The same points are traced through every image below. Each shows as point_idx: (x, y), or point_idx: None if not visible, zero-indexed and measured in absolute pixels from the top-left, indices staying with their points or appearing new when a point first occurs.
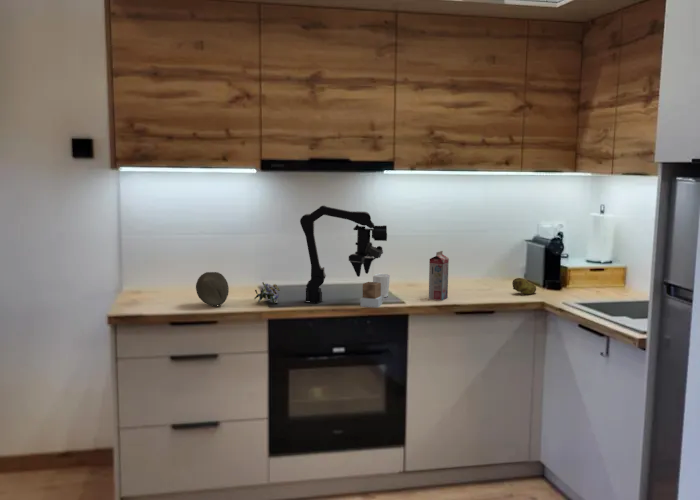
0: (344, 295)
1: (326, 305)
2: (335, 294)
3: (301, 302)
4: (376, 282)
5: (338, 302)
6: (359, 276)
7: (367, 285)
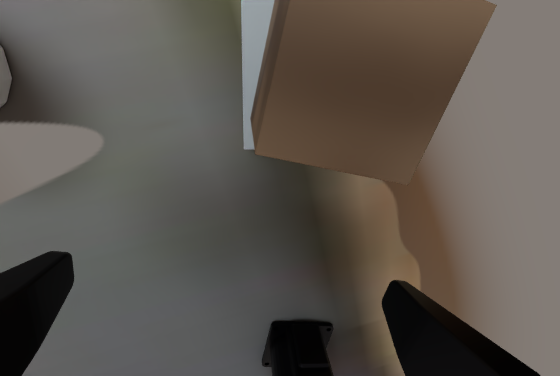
0: (90, 285)
1: (354, 284)
2: (92, 325)
3: None
4: (286, 23)
5: (279, 261)
6: (397, 280)
7: (428, 123)
